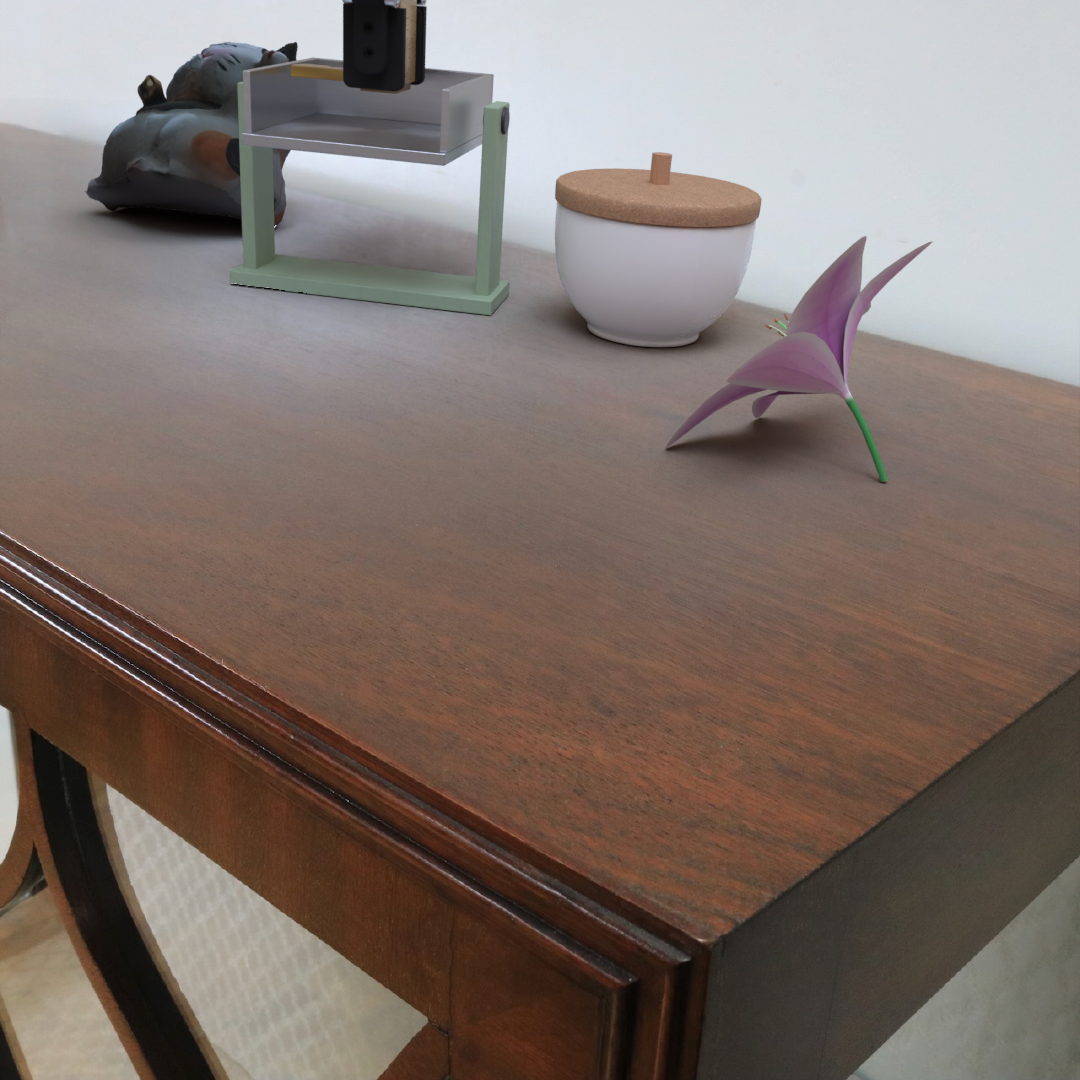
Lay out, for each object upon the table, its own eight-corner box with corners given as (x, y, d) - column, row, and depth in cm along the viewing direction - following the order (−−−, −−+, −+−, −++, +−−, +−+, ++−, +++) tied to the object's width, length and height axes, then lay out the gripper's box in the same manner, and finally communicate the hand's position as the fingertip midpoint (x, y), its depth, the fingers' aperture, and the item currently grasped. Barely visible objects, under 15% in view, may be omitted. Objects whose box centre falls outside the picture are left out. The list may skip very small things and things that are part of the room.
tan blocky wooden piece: (415, 89, 68) (417, -6, 66) (399, 94, 65) (400, -5, 63) (303, 79, 69) (302, -15, 66) (283, 84, 66) (280, -15, 64)
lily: (884, 433, 58) (815, 240, 56) (1070, 421, 47) (991, 180, 45) (673, 539, 55) (593, 335, 53) (821, 552, 44) (726, 296, 42)
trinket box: (684, 302, 74) (705, 139, 70) (778, 356, 65) (807, 173, 61) (517, 307, 70) (528, 135, 66) (591, 365, 61) (610, 170, 57)
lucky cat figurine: (68, 201, 86) (123, 13, 87) (229, 264, 93) (280, 88, 93) (120, 174, 74) (185, -46, 74) (303, 249, 80) (361, 46, 81)
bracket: (262, 265, 74) (258, 75, 70) (508, 294, 72) (520, 101, 68) (229, 284, 70) (222, 83, 65) (490, 315, 68) (502, 110, 63)
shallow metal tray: (356, 107, 81) (357, 49, 79) (518, 123, 79) (521, 64, 78) (241, 145, 64) (239, 71, 62) (444, 166, 62) (447, 90, 61)
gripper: (366, -295, 66) (364, 68, 74) (247, -370, 52) (260, 93, 60) (502, -289, 65) (486, 79, 73) (420, -363, 51) (411, 107, 59)
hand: (385, 82), depth 66 cm, fingers closed on tan blocky wooden piece, 3 cm apart
